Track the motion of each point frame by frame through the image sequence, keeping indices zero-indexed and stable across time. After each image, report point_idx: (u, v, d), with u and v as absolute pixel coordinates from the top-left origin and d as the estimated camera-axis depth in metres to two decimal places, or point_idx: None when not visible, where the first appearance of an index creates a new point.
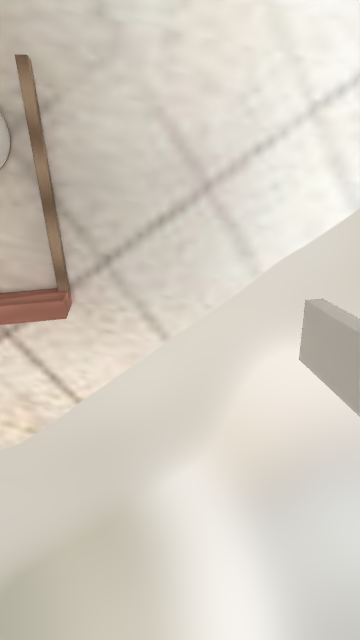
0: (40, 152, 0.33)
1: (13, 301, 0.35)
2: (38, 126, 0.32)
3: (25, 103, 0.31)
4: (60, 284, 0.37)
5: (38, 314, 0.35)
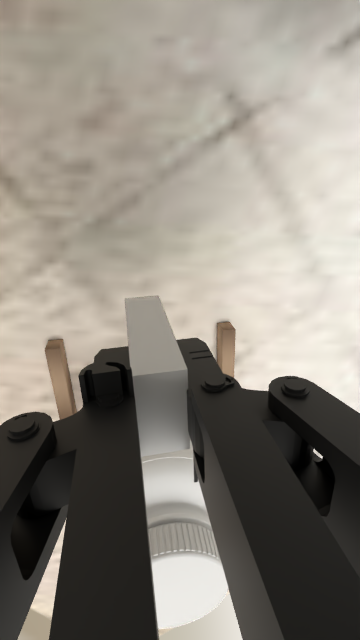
0: None
1: None
2: None
3: (223, 372, 0.27)
4: None
5: None
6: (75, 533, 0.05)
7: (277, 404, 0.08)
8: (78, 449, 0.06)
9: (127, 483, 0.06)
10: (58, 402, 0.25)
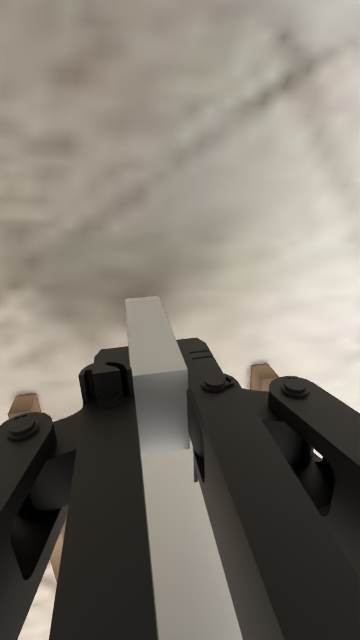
0: None
1: None
2: None
3: None
4: None
5: None
6: (75, 533, 0.05)
7: (277, 404, 0.08)
8: (78, 449, 0.06)
9: (127, 483, 0.06)
10: None
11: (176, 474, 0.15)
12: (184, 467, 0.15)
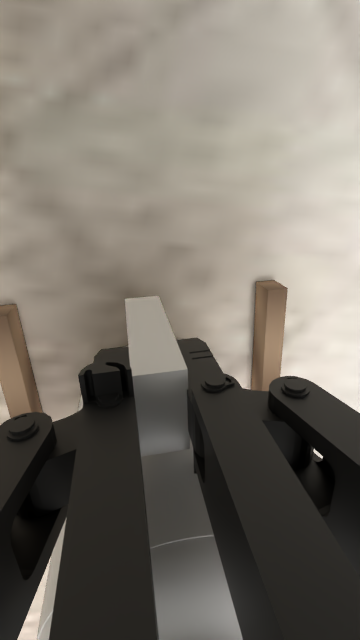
0: None
1: None
2: None
3: (266, 356, 0.18)
4: None
5: None
6: (75, 533, 0.05)
7: (277, 404, 0.08)
8: (78, 449, 0.06)
9: (127, 483, 0.06)
10: (10, 404, 0.16)
11: None
12: None
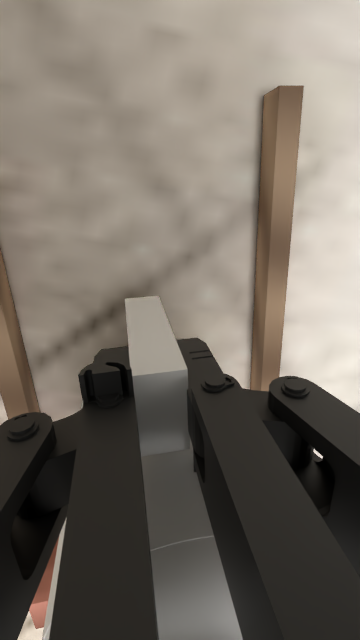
0: (281, 278, 0.16)
1: None
2: (289, 230, 0.15)
3: (276, 187, 0.14)
4: None
5: None
6: (75, 533, 0.05)
7: (277, 404, 0.08)
8: (78, 449, 0.06)
9: (127, 483, 0.06)
10: None
11: None
12: None
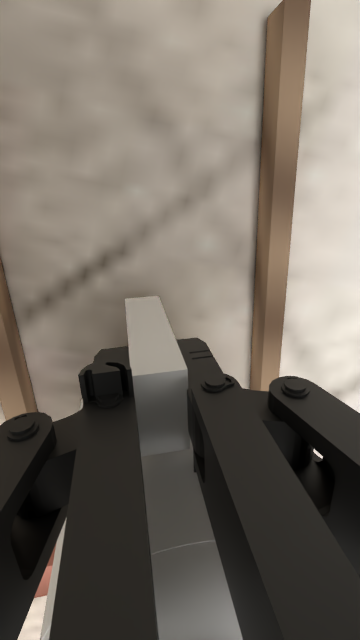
0: (286, 222, 0.15)
1: None
2: (294, 168, 0.14)
3: (280, 117, 0.13)
4: None
5: None
6: (75, 533, 0.05)
7: (277, 404, 0.08)
8: (78, 449, 0.06)
9: (127, 483, 0.06)
10: None
11: None
12: None
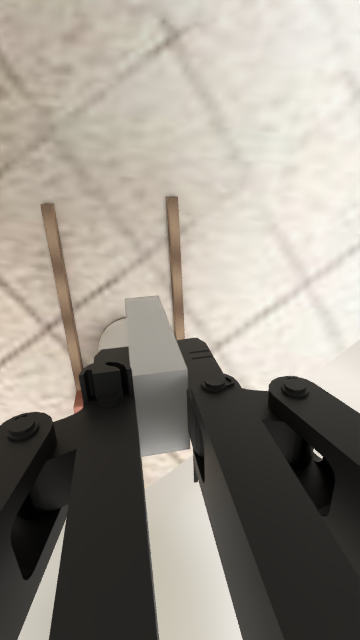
0: (178, 269, 0.38)
1: None
2: (179, 249, 0.38)
3: (171, 232, 0.37)
4: None
5: None
6: (75, 533, 0.05)
7: (277, 404, 0.08)
8: (78, 449, 0.06)
9: (127, 483, 0.06)
10: (50, 249, 0.35)
11: None
12: None
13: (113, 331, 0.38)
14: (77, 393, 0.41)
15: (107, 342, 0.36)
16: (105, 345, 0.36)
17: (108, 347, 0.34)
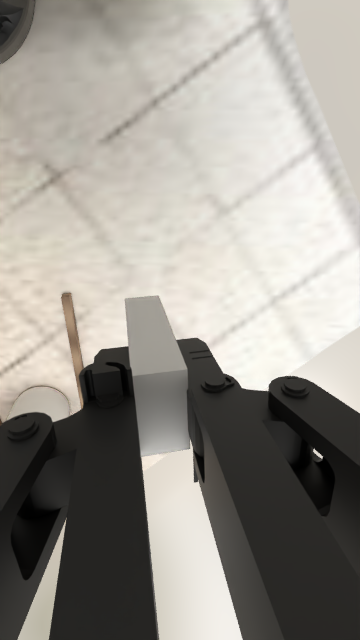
0: (76, 350, 0.46)
1: None
2: (75, 335, 0.45)
3: (67, 323, 0.44)
4: None
5: None
6: (75, 533, 0.05)
7: (277, 404, 0.08)
8: (78, 449, 0.06)
9: (127, 483, 0.06)
10: None
11: (33, 405, 0.44)
12: (38, 403, 0.45)
13: (20, 402, 0.45)
14: None
15: (11, 415, 0.43)
16: (9, 417, 0.43)
17: None
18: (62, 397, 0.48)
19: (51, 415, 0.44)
